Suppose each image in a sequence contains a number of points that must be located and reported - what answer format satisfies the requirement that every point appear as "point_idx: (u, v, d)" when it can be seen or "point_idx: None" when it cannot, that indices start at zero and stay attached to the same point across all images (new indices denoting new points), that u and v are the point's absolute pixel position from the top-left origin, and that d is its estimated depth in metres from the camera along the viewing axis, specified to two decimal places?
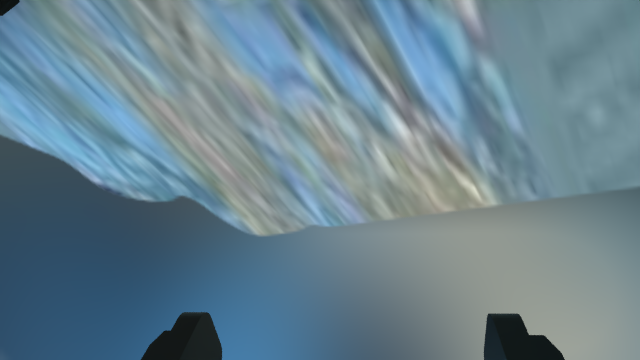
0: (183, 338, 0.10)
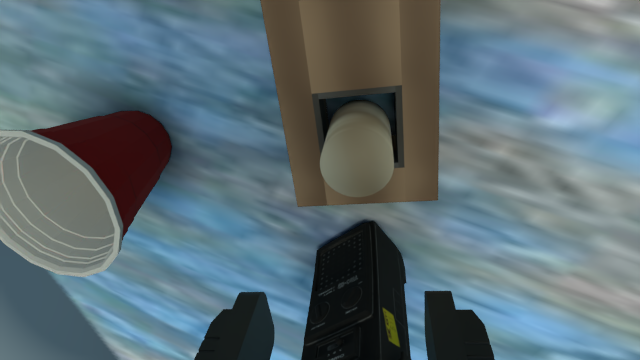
0: (246, 315, 0.11)
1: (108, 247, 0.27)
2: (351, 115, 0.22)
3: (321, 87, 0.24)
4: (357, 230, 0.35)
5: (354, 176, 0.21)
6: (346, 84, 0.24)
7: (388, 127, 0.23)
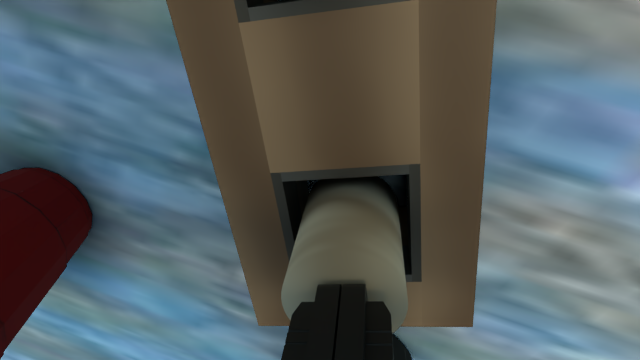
0: (330, 307, 0.11)
1: None
2: (335, 207, 0.14)
3: (285, 164, 0.15)
4: None
5: None
6: (327, 160, 0.14)
7: (396, 220, 0.15)
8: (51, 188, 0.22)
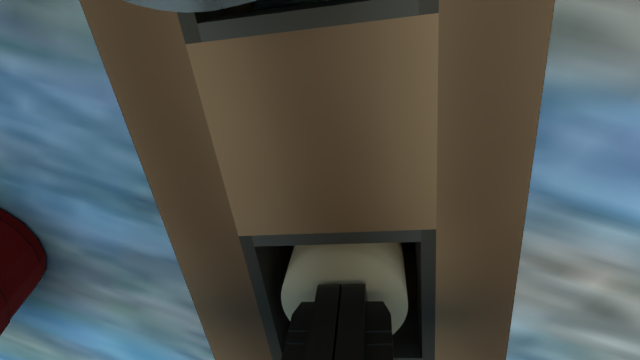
0: (330, 307, 0.11)
1: None
2: None
3: (258, 225, 0.11)
4: None
5: None
6: (312, 222, 0.11)
7: None
8: None
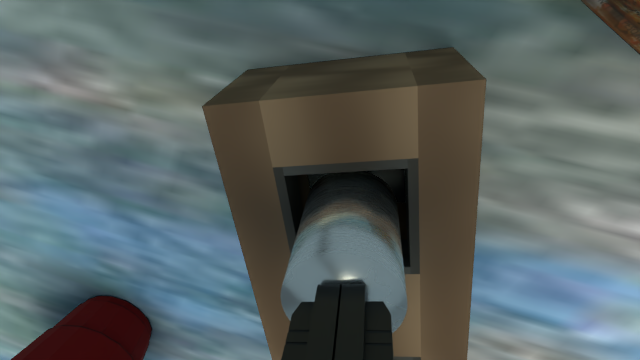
0: (330, 307, 0.11)
1: None
2: None
3: None
4: None
5: None
6: None
7: None
8: (124, 318, 0.28)
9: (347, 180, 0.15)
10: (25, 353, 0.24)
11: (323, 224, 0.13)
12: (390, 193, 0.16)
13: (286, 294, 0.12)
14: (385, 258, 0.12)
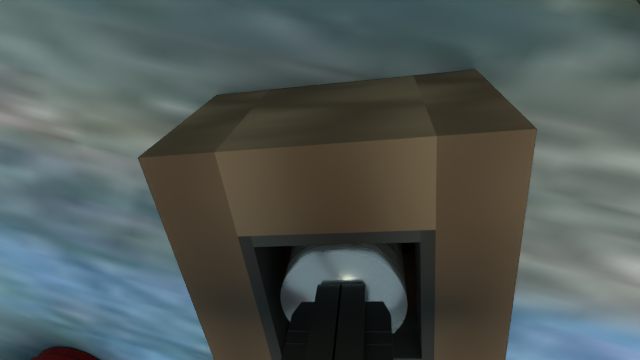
0: (330, 307, 0.11)
1: None
2: None
3: None
4: None
5: None
6: None
7: None
8: None
9: None
10: None
11: None
12: None
13: (286, 295, 0.12)
14: (385, 258, 0.12)
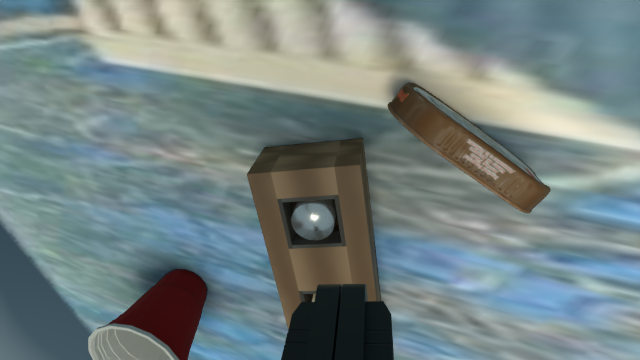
0: (330, 307, 0.11)
1: None
2: None
3: (304, 288, 0.40)
4: None
5: None
6: None
7: None
8: (193, 281, 0.48)
9: None
10: (145, 297, 0.44)
11: None
12: None
13: (293, 220, 0.36)
14: (325, 205, 0.35)
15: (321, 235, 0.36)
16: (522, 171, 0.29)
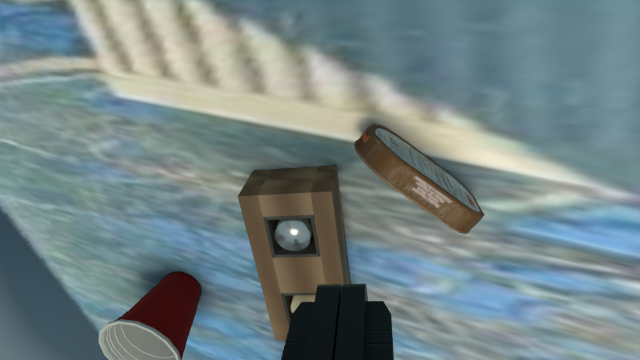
0: (330, 307, 0.11)
1: None
2: None
3: (285, 290, 0.47)
4: None
5: None
6: (298, 290, 0.46)
7: None
8: (189, 282, 0.54)
9: None
10: (147, 296, 0.50)
11: None
12: None
13: (276, 234, 0.43)
14: (303, 223, 0.42)
15: (299, 247, 0.43)
16: (458, 201, 0.36)
